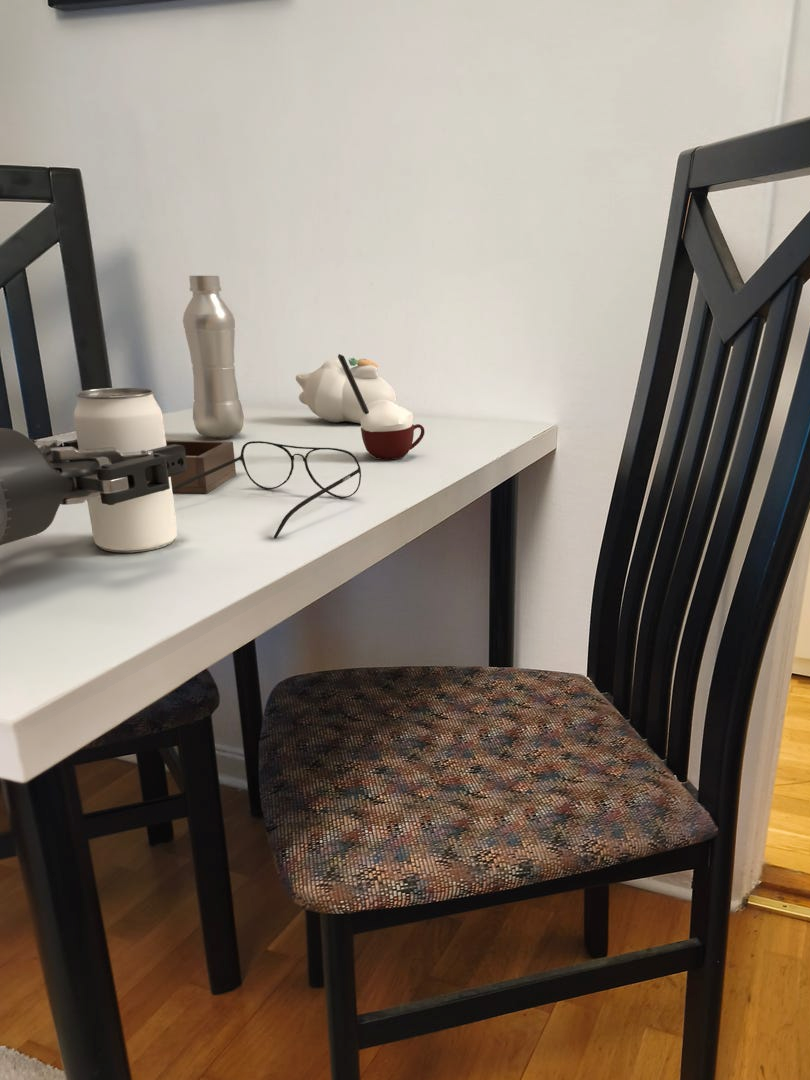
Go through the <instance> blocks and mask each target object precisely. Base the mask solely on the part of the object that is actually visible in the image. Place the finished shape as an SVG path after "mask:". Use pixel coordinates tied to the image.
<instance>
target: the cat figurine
mask: <svg viewBox="0 0 810 1080" xmlns="http://www.w3.org/2000/svg"><path fill="white" fill-rule="evenodd" d="M347 360H348V363H349V366H351V368H349V369H350V371H351V373H352V375H353V377H354V380H355V382H356V384H357V386H358V388H359V391H360V393H361V395H362V397H363V400H364V402H365V404H366V405H367V404H368V403H370V402H373V401H376V400H388V401H391V402H393V403H395V404H396V405H398V396H397V394H396V392H395V390H394V388H393V387H392V386H391V384H389V383H388V382H387V381H386V379H385V380H384V378H382V377H380V376H379V374H378V367H379V365H378V364H377V363H376V362H374V361H372V360H370V359H368V358H367V359H366V358H359V359H356V358H355V357H352V358H350V357H349V359H347ZM352 366H353V367H352ZM295 381H296V382H297V384H298V385H299V386H300V387H301V389H302V391H301V392H300V393H299V395H298V400H299V402H300V403H302V404H304V405H306V406H307V407H308V408H309V410H310V411H311V412H312V413H314V414H315V415H316V416H317V417H319V418H321V419H323V420H325V421H327V422H331V423H342V422H346V421H347V422H350V423H353V424H354V423H356V424H361V423H360V418H361V414H362V409H361V407H360V404H359V402H358V400H357V398H356V396H355V393H354V391H353V389H352V387H351V385H350V382H349V380H348V378H347V376H346V374H345V371H344V369H343V367H342V365H341V363H340V361H339V358H332V359H329V360H326V361H325V362H323V364H322V365H321V366H320V367H318V368H317V369H315V370H314V371H312V372H309V373H298V374H297V375H295Z"/></svg>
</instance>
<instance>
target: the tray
mask: <svg viewBox="0 0 810 1080" xmlns="http://www.w3.org/2000/svg"><path fill="white" fill-rule="evenodd" d="M173 444H176V445H183V446H184V448H185V452H186V460H187V470H186V472H185V473H182V474H179V475H175V476H171V485H172V487H174V486H176V485H178V484H180V483H182V482H184V481H186V480H188V479H190V478H193V477H195V476H197V475H199V474H202V473H204V472H206V471H208V470H211V469H213V468H215V467H218V466H220V465H222V464H224V463H227V462H229V461H231V460H233V459H236V457H235V449H234V442H233V441H232V440H231V441H228V440H181V439H166V446H169V445H173ZM236 475H237V470H236V462H234V463H232V464H230V465H228V466H226V467H224V468H222V469H219V470H217V471H215V472H213V473H211V474H208V475H206V476H204V477H202V478H199V479H197V480H195V481H193V482H191V483H189V484H187V485H185V486H183V487H181V488H179V489H177V490H175V491H173V492H172V493H173V494H174V493H177V494H178V493H179V494H209V493H210V492H212V491H213V490H214V489H216V488H217V487H219V486H221V485H222V484H224V483H225V482H227V481H228V480H230V479H231V478H233V477H235V476H236Z"/></svg>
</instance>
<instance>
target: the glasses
mask: <svg viewBox="0 0 810 1080" xmlns="http://www.w3.org/2000/svg"><path fill="white" fill-rule="evenodd" d="M251 444H265V445H266V444H267V445H271V446H274V447H277V448H279V449H281V450H283V451H284V452H285V453H286V454H287V456H288V457H289V458H290V471H289V473H288V476H287V477H286V479H285V480H284V481H283V482H282V483H280V484H279V485H277V486H274V487H266V486H263V485H260V484H259V483H258V482H256V481H255V480H254V479H253V478H252V476H251V475H250V474H249V471H248V468H247V465H246V462H245V456H244V452H245V449H246V447H247V446H248V445H251ZM288 448H291V449H301V450H309V451H308V452H307V453H306V454H305V456H304V455H303V454H301V453H294V454H292V452H290V451H289V449H288ZM320 450H322V451H323V450H329V451H337V452H341V453H345V454H347V455H349V456H350V457H351V458H352V459H353V460H354V462H355V463H356V465H357V469H356V470H354V471H352V472H351V473H348V474H347V475H345V476H344V477H342V478H340V479H339V480H337V481H335V482H333V483H331V484H330V485H327V486H326V487H324V486H322V484H320V483H319V482H318V481H317V480H316V478H315V477H314V475H313V474H312V472H311V470H310V468H309V464H308V457H309V455H310V454H311V453H312V452H316V451H320ZM240 451H241V452H240V455H239V456H238V457H235V459H233V460H231V461H229V462H227V463H224V464H222V465H220V466H218V467H215V468H213V469H211V470H208V471H206V472H204V473H202V474H199V475H197V476H195V477H193V478H190V479H188V480H186V481H184V482H182V483H180V484H178V485H176V486H174V487H172V493H174V492H173V491H175V490H177V489H179V488H181V487H183V486H185V485H187V484H189V483H191V482H193V481H195V480H197V479H199V478H202V477H204V476H206V475H208V474H211V473H213V472H215V471H217V470H219V469H222V468H224V467H226V466H228V465H230V464H232V463H234V462H235V463H236V462H238V461H241V463H242V466H243V468H244V471H245V473H246V475H247V476H248V477H249V480H250V481H251V482H252V483H253V484H254V485H255V486H257V487H259V488H261V489H264V490H267V491H268V490H270V491H271V490H274V489H278V488H280V487H281V486H283V485H284V484H286V483H287V482H288V481H289V480H290V478H291V476H292V474H293V471H294V469H295V468H294V467H295V463H294V460H295V456H300V457H301V458H302V461H303V463H304V466H305V470H306V472H307V474H308V476H309V478H310V479H311V481H312V482H313V483H314V484H315V485H316V486H317V487H318V488H319V489H321V490H319V491H317V492H316V493H313V494H312V495H310V496H309V497H307V498H305V499H304V500H302V501H301V502H300V503H298V504H297V505H295V506H294V507H293V508H292V509H289V512H287V513H286V515H285V516H284V517H283V519H282V520H281V523H280V524H279V525H278V527H277V530H276V531H275V533H274V535H273V539H277V538H278V537H279V535H280V533H281V531H282V530H283V529H284V527H285V525H286V523H287V522H288V521H289V519H290V518H291V517H292V516H293V515H294V514H295V513H296V512H298V511H299V510H300V509H301V508H302V507H304V506H305V505H307V504H309V503H311V502H312V501H313V500H315V499H317V498H318V497H320V496H322V495H324V494H325V493H326V494H328V495H330V496H332V497H335V498H338V499H347V498H350V497H352V496H354V495H355V494H356V493H357V492H358V490H359V488H360V485H361V482H362V481H361V480H362V470H361V469H362V468H361V465H360V463H359V460H358V459H357V457H356V456H355V455H354V454H353V453H352V452H351V451H349V450H346V449H341V448H337V447H314V446H313V447H311V446H297V445H296V446H295V445H288V444H282V443H281V444H280V443H275V442H269V441H263V440H255V441H254V440H253V441H247V442H246V443H244V444H243V446H242V447H241V450H240ZM357 474H359V475H358V476H359V478H358V484H357V487H356V489H355V490H354V492H353V493H351V494H349V495H346V496H345V495H344V496H341V495H337V494H335V493H334V492H331V491H330V490H332V489H334V488H336V487H337V486H339V485H341V484H342V483H345V482H346V481H348V480H350V479H351V478H352V477H354V476H356V475H357Z"/></svg>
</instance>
